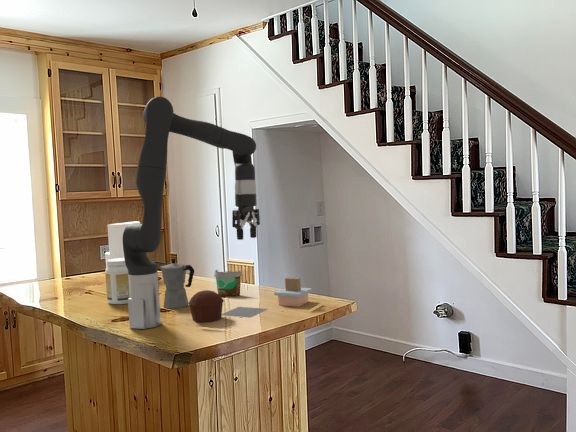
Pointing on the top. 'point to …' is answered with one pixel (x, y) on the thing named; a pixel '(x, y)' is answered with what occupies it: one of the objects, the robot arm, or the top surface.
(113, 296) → the supplement tub
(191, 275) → the coffeepot
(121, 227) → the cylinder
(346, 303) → the top surface
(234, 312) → the mat
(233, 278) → the food container
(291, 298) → the dish
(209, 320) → the muffin
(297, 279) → the lid
